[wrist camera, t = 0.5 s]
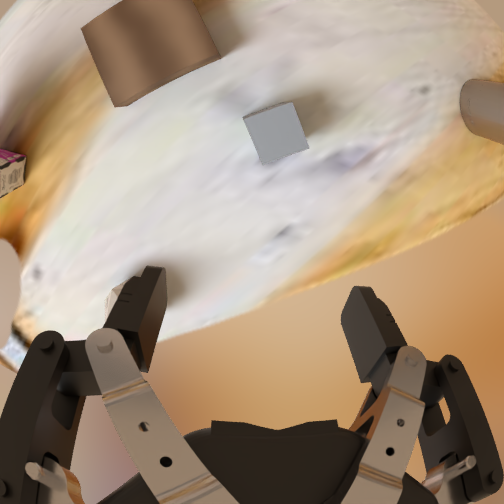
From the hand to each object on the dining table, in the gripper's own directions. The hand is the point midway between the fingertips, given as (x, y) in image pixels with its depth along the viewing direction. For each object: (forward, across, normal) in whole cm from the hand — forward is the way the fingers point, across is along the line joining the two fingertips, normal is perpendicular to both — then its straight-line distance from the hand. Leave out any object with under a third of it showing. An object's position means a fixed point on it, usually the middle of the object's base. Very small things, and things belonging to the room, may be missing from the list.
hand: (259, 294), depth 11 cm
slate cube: (+23, -2, -5) cm, 24 cm away
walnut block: (+23, +13, -15) cm, 30 cm away
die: (+23, +15, +21) cm, 34 cm away
